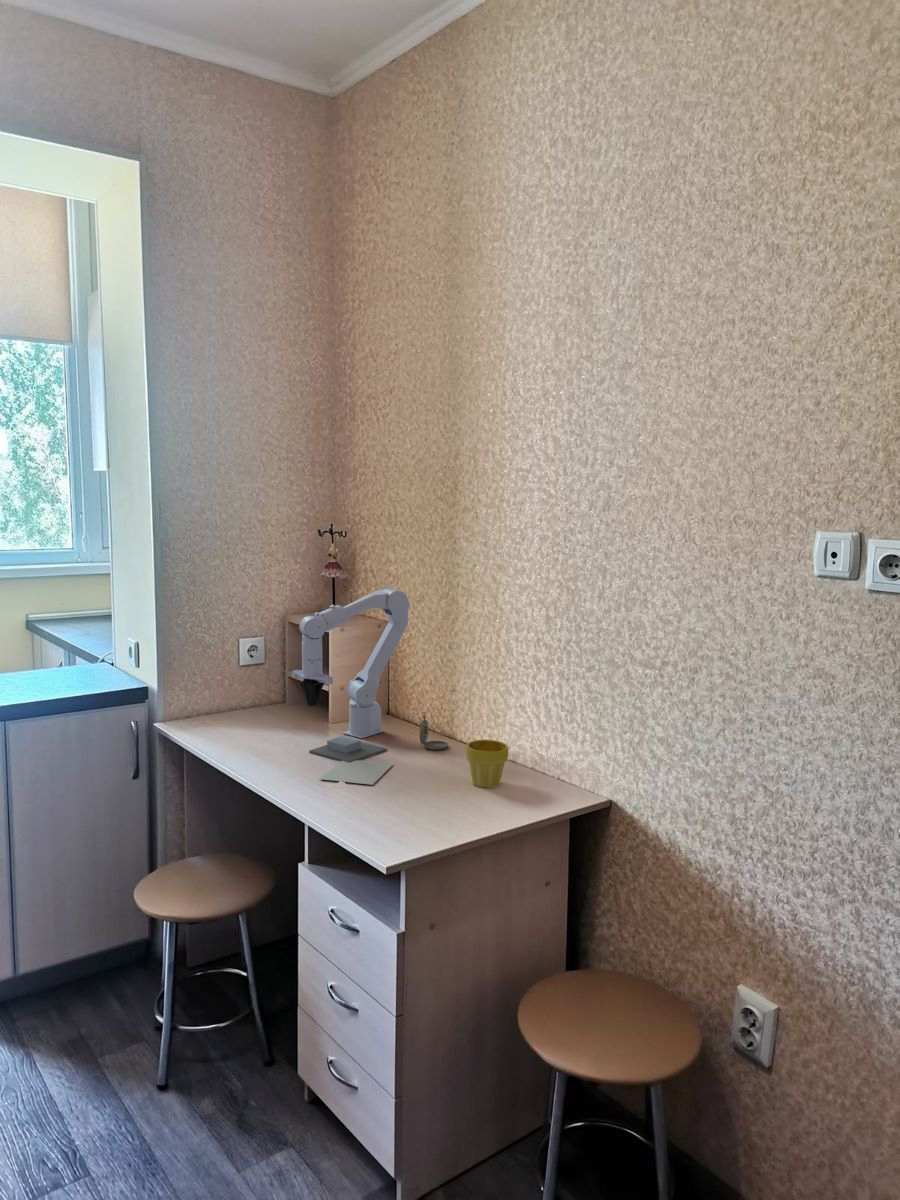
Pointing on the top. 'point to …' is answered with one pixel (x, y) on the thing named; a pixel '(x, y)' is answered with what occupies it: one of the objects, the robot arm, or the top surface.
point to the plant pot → (486, 761)
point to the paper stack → (357, 772)
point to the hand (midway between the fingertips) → (312, 705)
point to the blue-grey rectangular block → (343, 744)
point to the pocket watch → (424, 734)
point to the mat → (351, 756)
